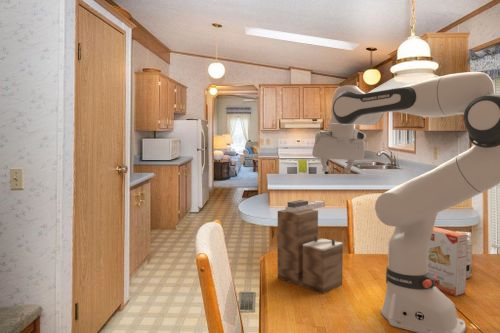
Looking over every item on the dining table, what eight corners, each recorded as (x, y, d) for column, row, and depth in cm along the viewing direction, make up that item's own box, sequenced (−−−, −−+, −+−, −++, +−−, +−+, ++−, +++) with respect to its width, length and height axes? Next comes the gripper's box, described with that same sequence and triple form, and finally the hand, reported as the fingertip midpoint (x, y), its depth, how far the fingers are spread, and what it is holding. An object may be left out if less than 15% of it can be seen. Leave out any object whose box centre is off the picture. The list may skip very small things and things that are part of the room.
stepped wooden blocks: (342, 284, 137) (343, 214, 136) (323, 293, 129) (324, 219, 127) (297, 270, 152) (297, 207, 150) (277, 278, 144) (277, 211, 142)
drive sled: (324, 206, 152) (324, 198, 152) (293, 213, 138) (293, 203, 138) (316, 205, 155) (316, 197, 154) (285, 211, 141) (285, 202, 140)
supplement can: (449, 278, 143) (450, 239, 142) (444, 271, 151) (445, 234, 150) (473, 280, 141) (474, 241, 140) (467, 273, 149) (468, 235, 148)
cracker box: (419, 283, 138) (420, 227, 137) (430, 280, 141) (431, 225, 140) (455, 297, 126) (457, 235, 124) (466, 293, 128) (468, 233, 127)
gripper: (321, 131, 123) (317, 172, 125) (369, 135, 132) (364, 174, 134) (311, 129, 129) (306, 169, 131) (357, 134, 138) (353, 171, 139)
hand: (336, 171), depth 132 cm, fingers open, 8 cm apart
